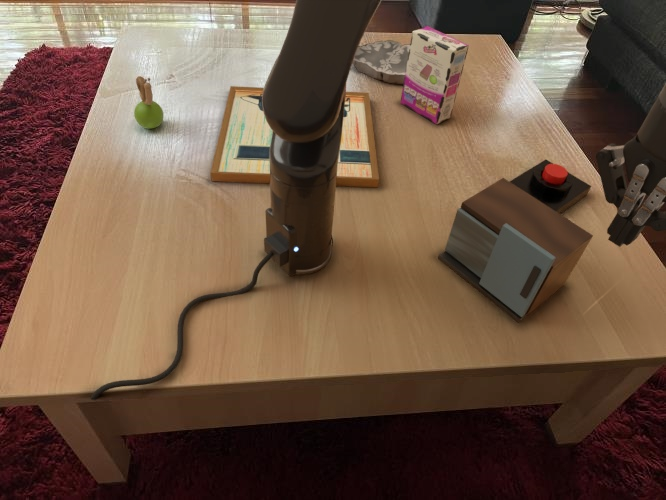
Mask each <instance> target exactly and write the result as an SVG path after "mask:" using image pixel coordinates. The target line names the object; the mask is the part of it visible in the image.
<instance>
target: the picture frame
mask: <svg viewBox="0 0 666 500" xmlns="http://www.w3.org/2000/svg"><path fill="white" fill-rule="evenodd" d="M229 87H230V88H229V91H228V96H227V99H226V103H225V104H226V105H225V108H224V113H223V116H222V121H221V126H220V130H219V134H218V138H217V142H216V146H215V151H214V156H213V160H212V164H211V168H210V172H209V173H210V180H211V182H225V183H228V182H229V183H250V184H251V183H253V184H270V164H269V150H270V144H271V138H272V131H273V130H272V129H271V128H270V126H269V125H268V123H267V121H266V118H265V116H264V112H263V107H262V94H263V89H264V87H256V86H235V85H230V86H229ZM371 108H372V107H371V99H370V93H369V92H360V91H346V96H345V106H344V117H343V126H342V137H341V145H340V151H339V158H338V168H337V180H336V187H356V188H358V187H359V188H379V184H380V176H379V175H380V174H379V166H378V158H377V151H376V141H375V134H374V124H373V116H372V109H371Z"/></svg>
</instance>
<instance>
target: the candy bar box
mask: <svg viewBox="0 0 666 500" xmlns="http://www.w3.org/2000/svg"><path fill="white" fill-rule="evenodd" d="M409 44H410V49H409V55H408V61H407V67H406V72H405V78H404V84H402V89H401V90H402V91H401V96H400V101H399V102H400V104H401V105H403V106H404V107H406V108H408V109H410V110H411V111H413V112H414V113H416V114H418V115H420V116H422V117H423V118H424V119H427V120H429V122H432V123H434V124H436V125H439V124H441V123H444V122H445V121H447V120H450V119H451V117H452V114H453V110H454V106H455V101H456V98H457V94H458V90H459V86H460V82H461V78H462V74H463V70H464V66H465V63H466V58H467V54H468V52H469V51H468V50H469V47H470V45H469V44H467V43H465V42H463V41H461V40H458V39H457V38H454V37H452V36H450V35H448V34H445V33H443V32H441V31H439V30H437V29H435V28H432V27H430V26H428V25H426V26H423V27H420V28H418V29H415V30H413V31H412V32H411V38H410V43H409Z"/></svg>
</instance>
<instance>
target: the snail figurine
mask: <svg viewBox="0 0 666 500" xmlns="http://www.w3.org/2000/svg"><path fill="white" fill-rule="evenodd" d="M150 81H151V78H150V77H147V78H144V76H140V75H139V76H137V77H136V78H135V83H136V86H137V89H138V91H139V98H140V100H141V101H140V102H138V103H137V105H135V108H134V110H133V114H134V115H133V116H134V119H135V122H137V124H138V125H139V126H141V127H143V128H144V129H149V130H150V129H156V128H158V127H159V126H160V125H161V124H162V123H163V120H164V111H163V108H162V107H161V105H160V104H159V103H158V102H156V101H154V100H153V98H154V97H153V91H152V85H151V82H150Z"/></svg>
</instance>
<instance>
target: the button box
mask: <svg viewBox="0 0 666 500" xmlns="http://www.w3.org/2000/svg"><path fill="white" fill-rule="evenodd" d="M548 164H554V163H553V162H552V161H550V160H548V159H544V160H542V161H540V162H539V163H538V164H536V165H534V166H533V167H531V168H529V169H528V170H526V171H525V172H523V173H521V174H519V175H518V176H516V177H514V178H513V179H511V180H509V182H511V183H512V184H514V185H515V186H517V187H518V188H520V189H522V190H523V191H525V192H526V193H528V194H529V195H531V196H532V197H534V198H536V199H537V200H539V201H540V202H542V203H543V204H545V205H546V206H548V207H550V208H551V209H553V210H554V211H556V212H557V213H559V214H560V215H562V213H564V212H565V211H567V210H568V209H569V208H570V207H572V206H573V205H575V204H576V203H578V202H579V201H580V200H582V199H583V198H585V197H586V196H587V195H588V194H589V192H590V190H591V188H592V185H591V184H588V183H587V182H585V181H584V180H582V179H580V178H578V176H575V175H574V174H572V173H570V172H569V171H567V172H568V175H567V177H566V179H565V181H564V183H562V184H559V185H555V184H552V183H549V182H547V181H546V180H544V179H543V178H542V173H543V171H544V169H545V167H546V166H547V165H548Z"/></svg>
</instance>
